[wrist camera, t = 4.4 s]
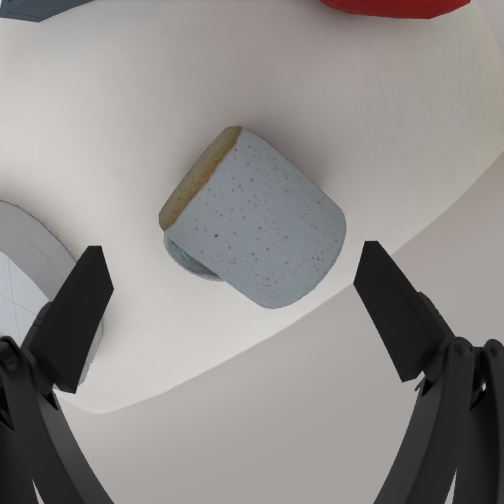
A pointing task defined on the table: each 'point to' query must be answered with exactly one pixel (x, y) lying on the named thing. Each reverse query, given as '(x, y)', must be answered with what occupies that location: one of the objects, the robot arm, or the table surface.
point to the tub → (36, 8)
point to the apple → (397, 7)
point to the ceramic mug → (252, 221)
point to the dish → (31, 275)
